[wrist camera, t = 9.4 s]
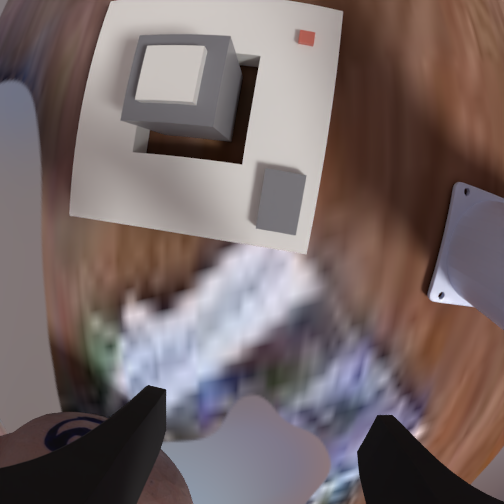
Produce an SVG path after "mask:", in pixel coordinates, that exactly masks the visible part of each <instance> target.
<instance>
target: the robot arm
mask: <svg viewBox="0 0 504 504" xmlns="http://www.w3.org/2000/svg"><path fill="white" fill-rule="evenodd" d="M465 188H466V190H467V193H466V195H465V194H464V190H465ZM441 292H442V295H441V296H440V297H438V295H439V293H441ZM427 295H428V298H429V299H430V300H431V301H433V302H440V303H447V304H455V305H462V306H470V307H475V308H476V309H478V310H479V311H480V312H481V313H483V314H484V315H485V316H487V317H488V318H489V319H490V320H492V321H493V322H494V323H495V324H497V325H498V326H499V327H500V328H502V329H503V330H504V198H501V197H499V196H497V195H494V194H492V193H489V192H487V191H484V190H482V189H479V188H476V187H474V186H471V185H468V184H466V183H463V182H456V183H455V184H454V186H453V190H452V196H451V202H450V207H449V212H448V217H447V221H446V226H445V230H444V235H443V239H442V243H441V247H440V251H439V255H438V259H437V262H436V266H435V270H434V273H433V277H432V280H431V283H430V287H429V290H428V294H427ZM165 432H166V389H162V388H158V387H154V386H150V385H148V386H146V387H145V388H144V389H143V390H142V391H140V392H139V393H138V394H137V395H136V396H135V397H134V398H133V399H132V400H130V401H129V402H128V403H127V404H126V405H125V406H123V407H122V408H121V409H120V410H118V411H117V412H116V413H115V414H113V415H112V416H111V417H109V418H108V419H107V420H105V421H104V422H103V423H101V424H100V425H98V426H97V427H95V428H94V429H92V430H91V431H89V432H88V433H86V434H85V435H83V436H81V437H80V438H78V439H76V440H75V441H73V442H71V443H69V444H67V445H65V446H63V447H61V448H59V449H57V450H55V451H52V452H50V453H48V454H45V455H43V456H40V457H38V458H35V459H32V460H29V461H25V462H22V463H18V464H15V465H11V466H7V467H2V468H0V504H137V502H138V500H139V497H140V495H141V493H142V491H143V488H144V486H145V484H146V482H147V480H148V477H149V475H150V473H151V471H152V468H153V466H154V464H155V462H156V459H157V457H158V455H159V452H160V449H161V446H162V442H163V439H164V435H165ZM357 455H358V467H359V475H360V480H361V484H362V488H363V493H364V497H365V501H366V504H504V502H503V501H500V500H498V499H496V498H494V497H492V496H489V495H487V494H485V493H484V492H482V491H480V490H478V489H476V488H474V487H473V486H471V485H470V484H468V483H467V482H465V481H464V480H463V479H461V478H460V477H458V476H457V475H456V474H454V473H453V472H452V471H450V470H449V469H448V468H447V467H446V466H444V465H443V464H442V463H441V462H440V461H439V460H438V459H436V458H435V457H434V456H433V455H432V454H431V453H430V452H429V451H428V450H427V449H426V448H425V447H424V446H423V445H422V444H421V443H420V442H419V441H418V440H417V439H416V438H415V437H414V436H413V435H412V434H411V433H410V432H409V431H408V430H407V429H406V428H405V427H404V426H403V425H402V424H401V423H400V422H399V421H398V420H397V419H396V418H395V417H394V416H393V415H377V417H376V419H375V421H374V423H373V424H372V426H371V428H370V430H369V432H368V434H367V435H366V437H365V439H364V441H363V443H362V444H361V446H360V448H359V450H358V451H357Z"/></svg>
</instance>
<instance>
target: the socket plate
mask: <svg viewBox="0 0 504 504" xmlns="http://www.w3.org/2000/svg"><path fill="white" fill-rule="evenodd" d="M342 19H343V11H339V10H335V9H331V8H326V7H322V6H317V5H312V4H306V3H300V2H294V1H288V0H118V1H111V2H110V5H109V8H108V11H107V14H106V17H105V19H104V22H103V26H102V29H101V32H100V35H99V38H98V42H97V45H96V49H95V52H94V56H93V60H92V63H91V67H90V71H89V75H88V80H87V84H86V89H85V93H84V98H83V103H82V108H81V114H80V119H79V125H78V132H77V138H76V146H75V153H74V162H73V171H72V182H71V195H70V213H69V215H70V216H76V217H82V218H89V219H95V220H101V221H107V222H114V223H120V224H126V225H132V226H138V227H144V228H151V229H157V230H163V231H169V232H175V233H181V234H187V235H193V236H199V237H205V238H211V239H217V240H223V241H229V242H235V243H241V244H247V245H253V246H259V247H265V248H271V249H277V250H283V251H289V252H294V253H300V254H306V253H307V248H308V243H309V238H310V233H311V228H312V223H313V218H314V213H315V207H316V202H317V196H318V191H319V185H320V180H321V174H322V168H323V162H324V156H325V150H326V144H327V137H328V131H329V124H330V117H331V110H332V103H333V96H334V89H335V81H336V73H337V65H338V56H339V48H340V38H341V29H342ZM159 34H202V35H223V36H231V39H232V42H233V45H234V49H235V52H236V55H237V59H238V62H239V65H243V66H252V67H259V68H258V73H257V79H256V85H255V90H254V96H253V102H252V108H251V114H250V119H249V125H248V131H247V137H246V143H245V149H244V156H243V162H242V165H241V164H234V163H227V162H220V161H212V160H204V159H196V158H188V157H178V156H169V155H159V154H148V153H146V152H147V146H148V139H149V133H150V130H149V129H146V128H143V127H140V126H136V125H133V124H130V123H127V122H124V121H120V120H121V114H122V109H123V104H124V99H125V94H126V89H127V84H128V80H129V75H130V71H131V67H132V63H133V59H134V55H135V51H136V47H137V44H138V40H139V36H140V35H159Z"/></svg>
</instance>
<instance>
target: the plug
mask: <svg viewBox="0 0 504 504" xmlns="http://www.w3.org/2000/svg"><path fill="white" fill-rule="evenodd" d="M242 80H243V75H242V72H241V69H240V65H239V62H238V59H237V55H236V52H235V49H234V45H233V42H232V39H231V36H223V35H202V34H159V35H140V36H139V40H138V44H137V47H136V51H135V55H134V59H133V63H132V67H131V71H130V75H129V80H128V84H127V89H126V94H125V99H124V104H123V109H122V114H121V120H120V121H124V122H127V123H130V124H133V125H136V126H140V127H143V128H146V129H149V130H152V131H155V132H158V133H161V134H164V135H171V136H183V137H193V138H202V139H211V140H219V141H227V142H232V137H233V131H234V126H235V120H236V114H237V108H238V103H239V97H240V91H241V86H242Z"/></svg>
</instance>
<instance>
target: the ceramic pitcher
mask: <svg viewBox="0 0 504 504" xmlns="http://www.w3.org/2000/svg"><path fill="white" fill-rule="evenodd" d="M107 419H108V418H106V417H103V416H99V415H97V414H88V413H81V412H60V413H52V414H46V415H44V416H41V417H38V418H35V419H33V420H31V421H30V422H28V423H26V424H25V425H23V426H22V427H20V428H19V429H17V430H16V431H14V432H13V433H9V434H6V435H2V436H0V468H2V467H7V466H11V465H15V464H18V463H22V462H25V461H29V460H32V459H35V458H38V457H40V456H43V455H45V454H48V453H50V452H52V451H55V450H57V449H59V448H61V447H63V446H65V445H67V444H69V443H71V442H73V441H75V440H76V439H78V438H80V437H81V436H83V435H85V434H86V433H88V432H89V431H91V430H92V429H94V428H95V427H97V426H98V425H100V424H101V423H103V422H104V421H105V420H107ZM137 504H193V502H192V499H191V495H190V492H189V489H188V486H187V484H186V482H185V480H184V478H183V476H182V475H181V473H180V471H179V470H178V469H177V467H176V466H175V464H174V463H173V462H172V460H171V459H170V458H169V457H168V456H167V455H166V454H165V453H164V452H163V451H162V450H161V449H160V452H159V455H158V457H157V459H156V462H155V464H154V466H153V468H152V471H151V473H150V475H149V477H148V480H147V482H146V484H145V486H144V488H143V491H142V493H141V495H140V497H139V500H138V502H137Z"/></svg>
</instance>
